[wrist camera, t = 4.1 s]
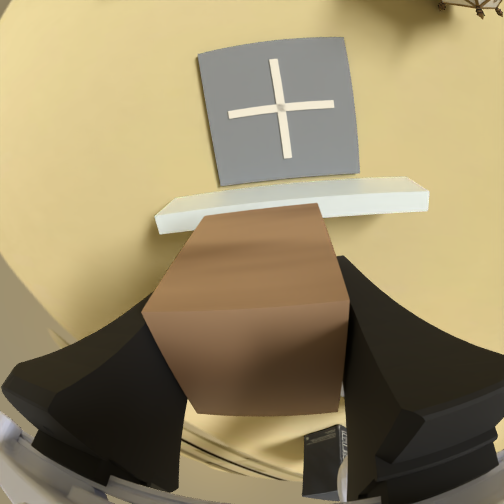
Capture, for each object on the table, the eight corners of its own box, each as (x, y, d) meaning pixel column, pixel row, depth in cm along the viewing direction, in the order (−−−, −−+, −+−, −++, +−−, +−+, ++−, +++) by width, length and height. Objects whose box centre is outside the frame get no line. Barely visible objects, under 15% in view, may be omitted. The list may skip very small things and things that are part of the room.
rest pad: (358, 172, 17) (360, 173, 16) (221, 185, 18) (220, 186, 18) (342, 38, 12) (343, 36, 12) (198, 55, 14) (197, 54, 14)
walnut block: (322, 297, 12) (337, 411, 7) (226, 304, 13) (197, 413, 8) (317, 202, 10) (349, 299, 5) (204, 216, 11) (141, 311, 6)
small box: (300, 435, 34) (298, 497, 25) (339, 422, 31) (343, 489, 22) (335, 451, 37) (336, 503, 28) (369, 439, 34) (374, 494, 25)
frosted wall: (405, 193, 17) (427, 211, 14) (178, 213, 19) (159, 234, 16) (406, 176, 16) (429, 191, 13) (174, 197, 19) (154, 216, 16)
